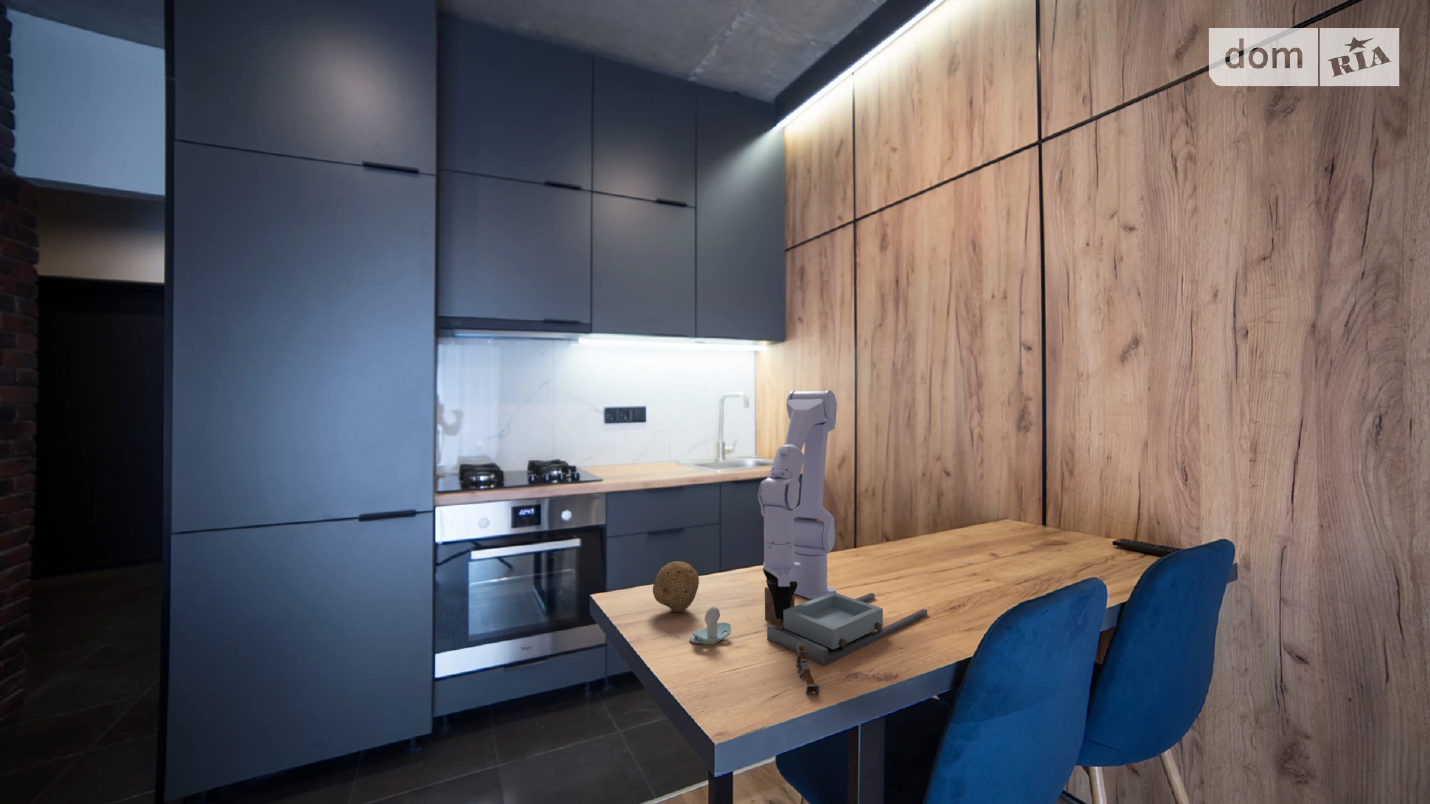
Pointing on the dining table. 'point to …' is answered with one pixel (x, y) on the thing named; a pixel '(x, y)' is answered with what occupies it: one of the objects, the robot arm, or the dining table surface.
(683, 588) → the natural sponge
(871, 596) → the rail
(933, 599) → the dining table surface
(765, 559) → the robot arm
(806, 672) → the wooden post with brackets
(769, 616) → the walnut block
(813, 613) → the cart
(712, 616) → the pacifier
